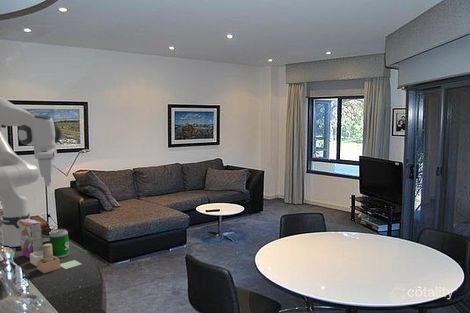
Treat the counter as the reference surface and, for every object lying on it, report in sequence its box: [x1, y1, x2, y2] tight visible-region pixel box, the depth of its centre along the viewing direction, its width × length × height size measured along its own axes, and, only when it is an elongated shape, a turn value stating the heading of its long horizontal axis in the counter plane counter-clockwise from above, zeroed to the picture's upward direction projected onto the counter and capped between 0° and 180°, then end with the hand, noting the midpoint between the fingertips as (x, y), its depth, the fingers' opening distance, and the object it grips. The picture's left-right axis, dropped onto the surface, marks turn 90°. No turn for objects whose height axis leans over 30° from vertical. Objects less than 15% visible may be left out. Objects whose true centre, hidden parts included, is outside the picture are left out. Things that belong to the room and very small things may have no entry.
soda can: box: [48, 228, 70, 259], centre depth 181 cm, size 8×8×12 cm
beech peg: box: [42, 243, 53, 263], centre depth 166 cm, size 4×4×10 cm
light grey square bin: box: [29, 250, 43, 267], centre depth 174 cm, size 7×7×4 cm
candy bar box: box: [19, 218, 44, 259], centre depth 182 cm, size 11×5×16 cm, turn 53°
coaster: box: [60, 259, 82, 270], centre depth 171 cm, size 7×7×1 cm
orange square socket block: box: [36, 256, 61, 274], centre depth 166 cm, size 7×7×4 cm
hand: (48, 184), depth 178 cm, fingers open, 8 cm apart
